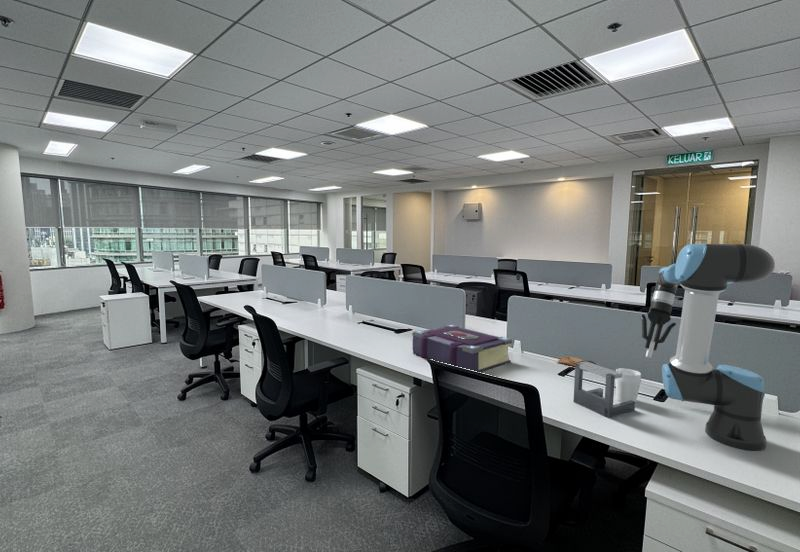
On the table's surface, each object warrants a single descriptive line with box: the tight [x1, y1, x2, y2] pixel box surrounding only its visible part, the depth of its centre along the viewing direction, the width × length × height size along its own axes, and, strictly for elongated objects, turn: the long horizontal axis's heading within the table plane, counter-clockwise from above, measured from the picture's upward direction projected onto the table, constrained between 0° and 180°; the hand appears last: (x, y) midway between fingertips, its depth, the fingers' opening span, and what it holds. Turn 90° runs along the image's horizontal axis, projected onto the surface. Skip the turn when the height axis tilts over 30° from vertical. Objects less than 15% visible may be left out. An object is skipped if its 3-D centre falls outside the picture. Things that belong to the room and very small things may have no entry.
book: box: [411, 324, 513, 373], centre depth 211 cm, size 33×45×14 cm
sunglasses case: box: [556, 355, 596, 372], centre depth 200 cm, size 18×7×7 cm
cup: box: [614, 367, 642, 404], centre depth 156 cm, size 9×9×12 cm
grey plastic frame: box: [572, 360, 636, 419], centre depth 150 cm, size 15×16×16 cm
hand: (648, 357), depth 159 cm, fingers closed
